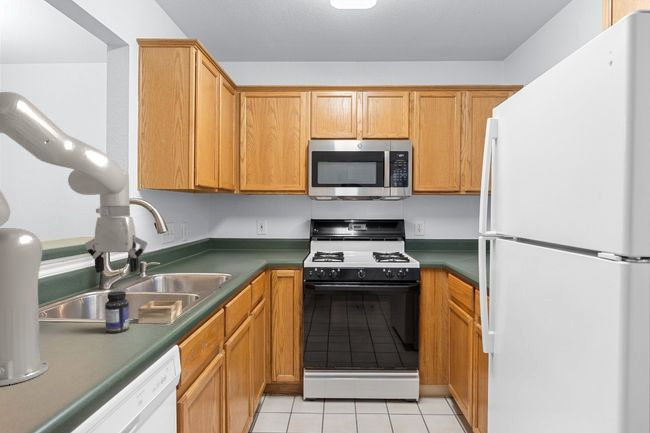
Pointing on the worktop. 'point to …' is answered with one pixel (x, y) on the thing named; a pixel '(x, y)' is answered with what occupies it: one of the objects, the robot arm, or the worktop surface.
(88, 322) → the worktop surface
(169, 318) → the wooden tray
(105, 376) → the worktop surface
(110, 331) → the pill bottle
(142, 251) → the robot arm
